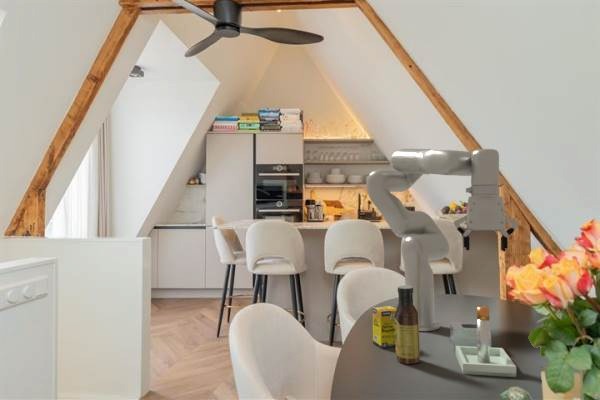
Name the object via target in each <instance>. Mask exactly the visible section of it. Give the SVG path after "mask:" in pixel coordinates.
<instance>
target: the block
mask: <svg viewBox="0 0 600 400" xmlns="http://www.w3.org/2000/svg"><path fill="white" fill-rule="evenodd" d="M449 328H450V329H449V331H450V333H449V335H450V344H451V346H452V348H453V351H456V346H469V347H477V322H462V321H461V322H460V321H450V322H449ZM490 348H492V330H491V329H490Z"/></svg>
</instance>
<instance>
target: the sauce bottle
mask: <svg viewBox="0 0 600 400" xmlns="http://www.w3.org/2000/svg"><path fill="white" fill-rule="evenodd" d="M397 293H398V294H397V295H398V304H397V307H396V309H397V310H396V313H395V341H396V347H395V354H396V359H397V362H400V363H402V364H407V365H414V364H417V363H419V362H420V355H421V346H420V345H421V344H420V343H421V341H420V331H419V322H418V312H417V310H416V308H415V307H414V305H413V287H412V286H405V285H399V286H397Z"/></svg>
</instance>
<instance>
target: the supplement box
mask: <svg viewBox="0 0 600 400" xmlns="http://www.w3.org/2000/svg"><path fill="white" fill-rule="evenodd" d="M396 310H397V308H395V307H393V306H391V305H388V306H377V307H376V306H374V307H372V344H375V345H376V346H377V347H378V348H380V349H388V348H396V341H395V313H396Z"/></svg>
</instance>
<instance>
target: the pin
mask: <svg viewBox="0 0 600 400" xmlns="http://www.w3.org/2000/svg"><path fill="white" fill-rule="evenodd" d="M476 323H477V362H478V363H486V364H490V330H491V329H490V328H491V327H490V307H488V306H483V305H477V306H476Z"/></svg>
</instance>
